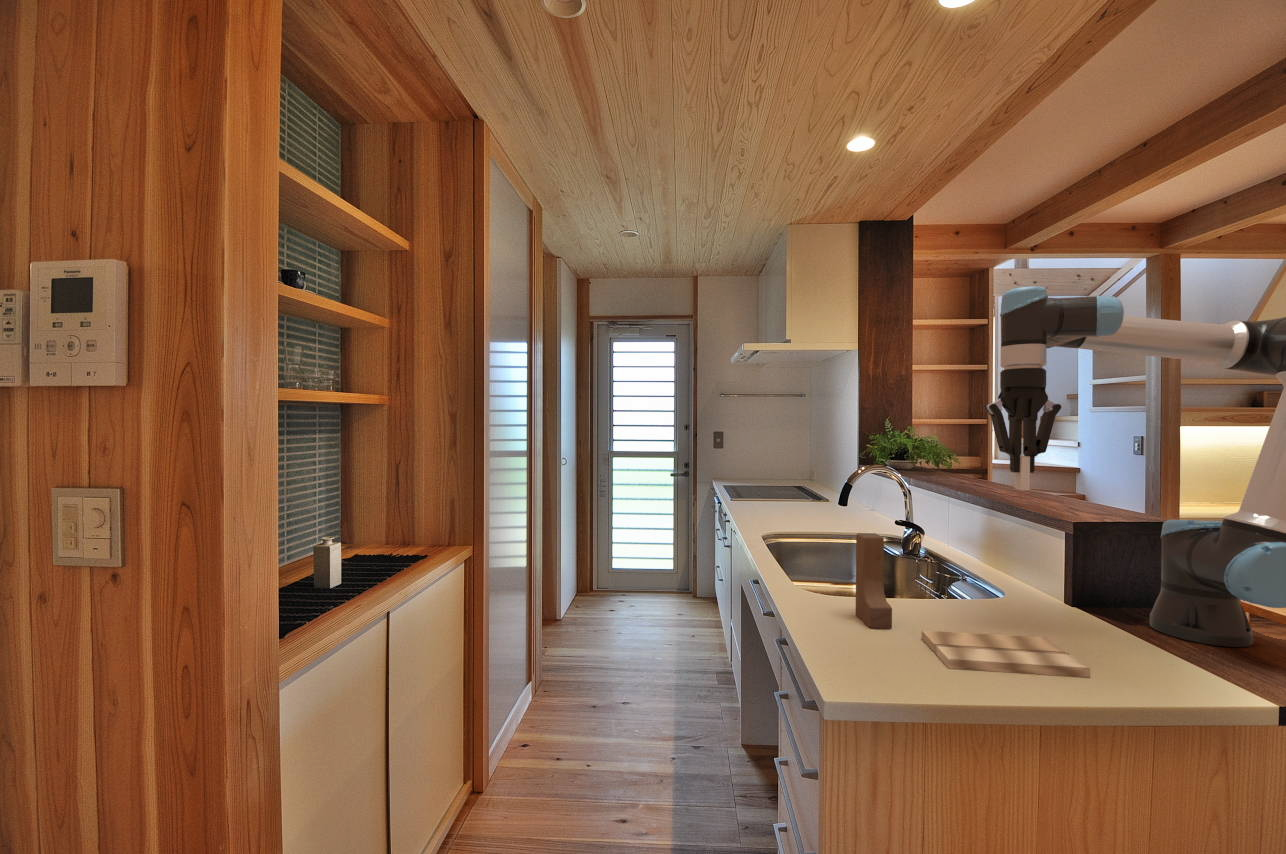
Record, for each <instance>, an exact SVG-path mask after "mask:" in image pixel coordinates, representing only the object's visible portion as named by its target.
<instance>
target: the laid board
mask: <svg viewBox="0 0 1286 854" xmlns="http://www.w3.org/2000/svg"><path fill="white" fill-rule="evenodd" d="M1065 652H1066V651H1065ZM1065 652H1049V651H1032V650H1016V649H999V648H983V647H966V646H950V645H935V652H934V653H935V655H936V656H937V657H938V658H939V660H940V661H941V662H942V663H943V664H944V665H945V666H946V667H947V668H948V669H952V670H955V669H956V670H970V671H983V672H984V671H985V672H1000V673H1001V672H1002V673H1014V674H1015V673H1016V674H1027V675H1028V674H1031V675H1044V676H1045V675H1047V676H1062V677H1075V678H1076V677H1077V678H1090V679H1091V667H1090V666H1089V665H1087V664H1085V663H1083V662H1082V661H1081V660H1080V659H1077V658H1076V657H1074V656H1073V655H1072V654H1070V653H1069V652H1066V653H1065Z"/></svg>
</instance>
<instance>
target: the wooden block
mask: <svg viewBox="0 0 1286 854" xmlns="http://www.w3.org/2000/svg"><path fill="white" fill-rule="evenodd" d="M855 536H856V538H855V539H856V540H855V542H856V544H855V547H856V549H855V552H856V553H855V558H856V559H855V615H856V617H858V618H859V620H861V621H862V622H863V623H864V624H865V625H866V626H868V627H869V629H872V630H873V629H874V630H875V629H876V630H879V629H880V630H881V629H884V630H891V629H892V628H893V608H892V606H891V604H889V602H887V599H886V595H885V587H884V568H885V567H884V561H885V560H884V557H885V556H884V555H885V552H884V551H885V550H884V549H885V548H884V547H885V544H884V543H885V539H884V537H883V536H881V535H879V534H878V533H870V532H869V533H868V532H867V533H862V532H859V533H856V535H855Z"/></svg>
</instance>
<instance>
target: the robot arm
mask: <svg viewBox="0 0 1286 854" xmlns="http://www.w3.org/2000/svg"><path fill="white" fill-rule="evenodd" d="M1124 313H1125V311H1124V305H1123V302H1122V301H1121V300H1120V298H1118V297H1116V296H1114V295H1113V296H1111V295H1110V296H1108V295H1107V296H1105V295H1103V296H1102V295H1095V296H1075V297H1049V294H1048V290H1047V288H1046V287H1044V286H1036V285H1034V286H1033V285H1032V286H1030V285H1029V286H1022V287H1016V288H1012V289H1009V290H1007V291H1006V292H1004V293H1003V294H1002V297H1001V303H1000V314H999V317H1000V367H1001V368H1002V370H1001V372H999V376H1000V377H999V379H1000V381H999V382H1000V383H999V387H1000V393H999V394H998V397H997V399H996V400H994V402H992V403H988V404H986V405H985V410H986V411H987V413H988V415H990V420H991V424H992V427H993V432H994V434H995V439H996V442H997V447H998V450H999V452H1001V453H1004V454H1007V455H1008V456H1009V471H1010V472H1011V473H1014V486H1013V487H1014V490H1019V491H1031V489H1030V487H1031V485H1030V484H1031V483H1030V479H1031V473H1032V474H1034V472H1035V467H1036V466H1035V465H1036V464H1035V463H1036V462H1035V459H1036V457H1037V456H1038V455H1039V454H1044V453H1046V452H1047V449H1048V446H1049V445H1048V444H1049V441H1050V438H1051V435H1052V431H1053V427H1054V424H1055V423H1054V422H1055V419H1056V416H1057V414H1058V413H1059V412H1060V410H1061V409H1062V405H1061V404H1060V403H1055V402H1053V401H1051V400H1049V395H1048V394H1047V391H1046V389H1047V369H1045V368H1044V367H1045V366H1047V349H1050V348H1055V347H1056V348H1064V349H1065V348H1067V349H1079V350H1080V349H1081V350H1089V351H1090V350H1091V351H1100V352H1109V353H1117V354H1118V353H1119V354H1127V355H1137V356H1145V357H1146V356H1147V357H1157V358H1168V359H1176V360H1185V361H1196V362H1197V361H1198V362H1206V363H1212V365H1213V366H1214V367H1216V368H1217V369H1222V370H1232V371H1241V372H1247V373H1254V374H1262V375H1269V376H1275V378H1276V379H1277V380H1278V381H1279V382H1280V383H1281V385H1282V386H1283V389H1282V392H1281V395H1280V398H1279V400H1278V403H1277V406H1276V409H1275V410H1274V414H1273V416H1272V420H1271V421H1270V425H1269V427H1268V431H1267V433H1266V436H1265V439H1264V441H1263V444H1262V446H1261V449H1260V453H1259V454H1258V458H1257V461H1256V463H1255V465H1254V469H1253V471H1252V473H1251V476H1250V479H1249V482H1248V486H1247V487H1246V490H1245V494H1244V495H1243V498H1242V500H1241V504H1240V506H1239V509H1238V511H1237V512H1234V513H1231V514H1230V515H1226V516H1224V517H1223V520H1221V521H1219V520H1197V519H1196V520H1193V519H1191V520H1190V519H1167V520H1166V521H1163V523H1162V527H1161V533H1160V536H1159V537H1160V541H1161V543H1160V545H1161V548H1160V549H1161V551H1160V553H1161V557H1160V558H1161V559H1160V560H1161V562H1160V564H1161V565H1160V570H1161V571H1160V576H1161V577H1160V578H1161V579H1160V580H1161V581H1160V590H1159V591H1160V592H1159V594H1158V597H1157V598H1156V600H1155V602H1154V605H1153V608H1152V610H1151V611H1150V613H1149V626H1150V627H1151V628H1152V629H1153V630H1155V631H1157V632H1159V633H1163V634H1165V635H1166V636H1167V635H1168V636H1171V637H1173V638H1174V637H1175V638H1178V639H1181V640H1186V641H1189V642H1195V643H1199V644H1205V645H1211V646H1217V647H1218V646H1220V647H1226V648H1227V647H1229V648H1230V647H1231V648H1244V647H1251V646H1252V645H1253V644H1254V631H1253V629H1252V627H1251V624H1250V622H1249V619H1248V617H1247V614H1246V612H1245V609H1244V606H1243V605H1242V602H1247V603H1250V604H1252V605H1253V604H1254V605H1259V606H1261V607H1262V606H1263V607H1266V608H1272V609H1286V316H1283V317H1279V318H1273V319H1266V320H1255V321H1254V320H1251V321H1246V320H1244V321H1243V320H1230V321H1228V322H1226V323H1225V324H1223V323H1222V324H1221V323H1219V324H1218V323H1209V322H1207V323H1206V322H1199V321H1198V322H1196V321H1186V320H1185V321H1184V320H1173V319H1162V318H1161V319H1160V318H1154V317H1153V318H1151V317H1142V316H1141V317H1139V316H1128V315H1127V316H1126V315H1124ZM1003 409H1004V410H1005V411H1006V413H1007V420H1008V430H1007V427H1006V426H1007V425H1006V422H1005V418H1004V415H1003V413H1002V411H1003ZM1041 410H1042V411H1043V413H1042V415H1041V417H1040V422H1039V426H1038V429H1037V421H1038V420H1039V419H1038V417H1039V416H1038V413H1040V412H1041ZM1022 453H1023V455H1022Z"/></svg>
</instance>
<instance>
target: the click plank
mask: <svg viewBox="0 0 1286 854" xmlns="http://www.w3.org/2000/svg"><path fill="white" fill-rule="evenodd" d="M921 640H923V641H924V642H925V644H926V645H927V646H928V647H929V648H930V649H931V650H932V652H933V653H935V645H950V646H966V647H983V648H999V649H1016V650H1032V651H1049V652H1065V653H1067V652H1066V651H1065V650H1063V648H1060V647H1059V646H1058V645H1056V644H1055V643H1053V642H1052V641H1051V640H1049V639H1048V638H1046V637H1042V636H1024V635H1006V634H992V633H990V634H989V633H974V632H973V633H972V632H956V631H954V632H953V631H940V630H939V631H938V630H921Z"/></svg>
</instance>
